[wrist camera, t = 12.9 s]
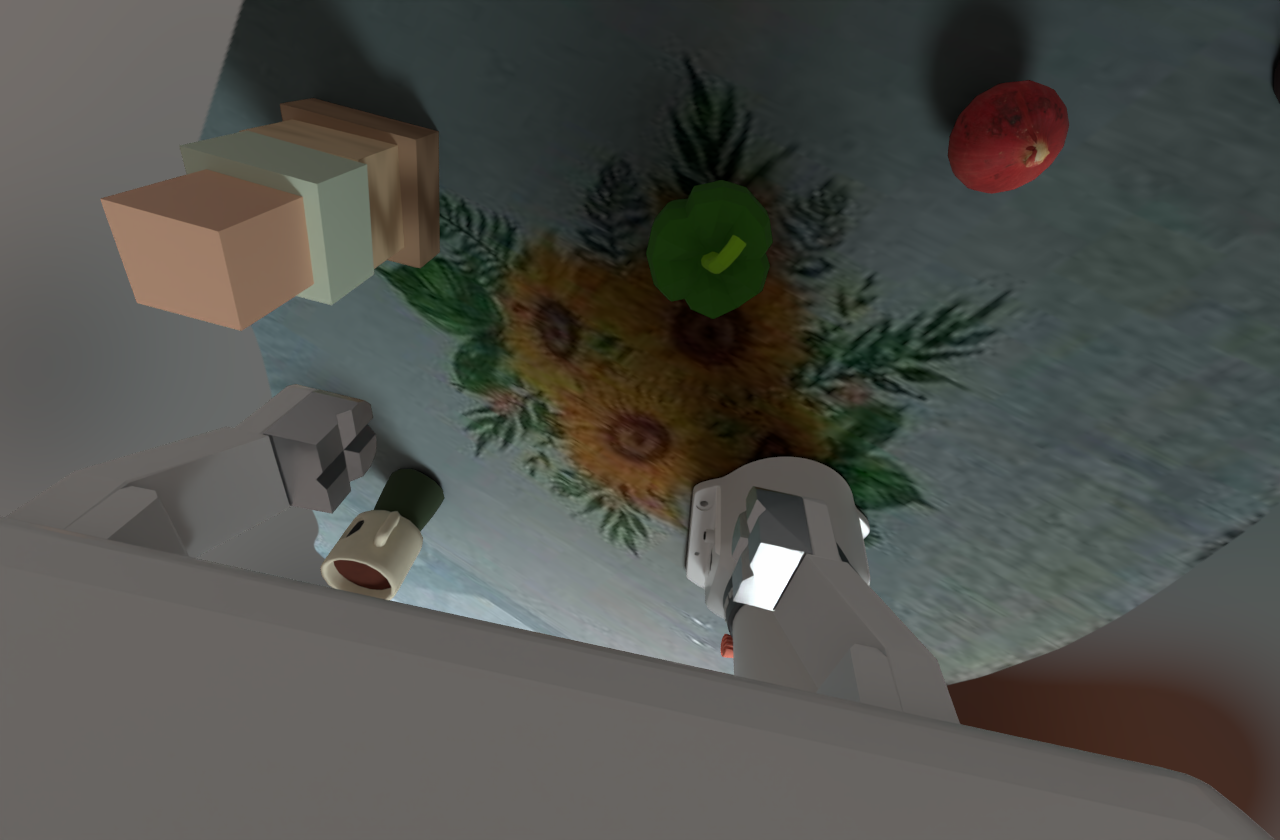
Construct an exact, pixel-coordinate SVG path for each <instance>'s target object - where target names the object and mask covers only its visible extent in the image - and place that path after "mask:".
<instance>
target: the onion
mask: <svg viewBox="0 0 1280 840" xmlns="http://www.w3.org/2000/svg"><path fill="white" fill-rule="evenodd" d="M1068 128H1069V121H1068V114H1067V108H1066V106H1065V104H1064V103H1063V101H1062V100H1061V99H1060V97H1059V96H1058V94H1057V93H1056V92H1055V90H1053V89H1051V88H1050V87H1047V86H1045V85H1042V84H1039V83H1036V82H1034V81H1031V80H1027V81H1018V82H1009V83H1001V84H998V85H996V86H994V87H992V88H991V89H989V90H987V91H985V92H983V93H981V94H980V95H978V96H976V97H975V98H974V99H973V101H972V102H971V103H970V104H969V105H968V106H967V107H966V108H965V109H964V110H963V112H962V113H961V114H960V115H959V116H958V118H957V121H956V123H955V126H954V128H953V130H952V133H951V135H950V139H949V149H948V158H949V161H950V165H951V168H952V171H953V173H954V174H955V176H956V177H957V178H958V179H959V180H960V181H961V182H962V183H963V184H964V185H965V186H966V187H967V188H970V189H973V190H977V191H981V192H985V193H997V192H1003V191H1009V190H1013V189H1016V188H1018V187H1020V186H1022V185H1024V184H1026V183H1028V182H1030V181H1032V180H1034V179H1035V178H1036V177H1038V176H1039V175H1040V174H1041V173H1042V172H1043V171H1044V170H1045V169H1046V168H1048V167H1049V166H1050V165H1051V164H1052V162H1053V161H1054V159H1055V158H1056V157H1057V155H1058V154H1059V152H1060V151H1061V149H1062V148H1063V146H1064V143H1065V139H1066V135H1067V132H1068Z"/></svg>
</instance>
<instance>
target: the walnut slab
mask: <svg viewBox="0 0 1280 840" xmlns="http://www.w3.org/2000/svg"><path fill="white" fill-rule="evenodd" d="M280 108H281V114H282V120H283V121H288V120H292V119H293V120H297V121H301V122H305V123H309V124H314V125H318V126H322V127H326V128H330V129H334V130H338V131H342V132H346V133H350V134H354V135H358V136H362V137H366V138H370V139H375V140H379V141H383V142H387V143H391V144H395V145H398V157H399V172H400V188H401V203H402V219H403V234H404V248H402V249H401V250H400V251H398V252H397V253H395V254H394V255H393V256H391V257H390V258H389V259H387V260H389V261H393V262H397V263H401V264H405V265H409V266H413V267H417V268H421V267H422V266H424V265H425V264H426V263H427V262H428V261H430V260H431V259H432V258H433V257H435V256H436V255H437V254H438V253H439V252H440V241H439V131H435V130H431V129H427V128H424V127H420V126H416V125H412V124H409V123H405V122H401V121H397V120H394V119H390V118H386V117H382V116H379V115H375V114H371V113H367V112H364V111H360V110H356V109H352V108H349V107H345V106H341V105H337V104H334V103H330V102H326V101H322V100H318V99H315V98H310V99H304V100H298V101H292V102H286V103H281V104H280Z"/></svg>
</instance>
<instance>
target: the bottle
mask: <svg viewBox="0 0 1280 840" xmlns="http://www.w3.org/2000/svg"><path fill="white" fill-rule="evenodd" d="M1274 93H1275V95H1276V97H1277V99H1278V101H1279V103H1280V59H1279V62H1278V64H1277V67H1276V70H1275V72H1274Z"/></svg>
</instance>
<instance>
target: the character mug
mask: <svg viewBox="0 0 1280 840" xmlns="http://www.w3.org/2000/svg"><path fill="white" fill-rule="evenodd" d="M443 500H444V494H443V490H442V489H441V488H440V487H439V486H438V484H437V483H436V482H435V481H433V480H432V479H430V478H429V477H427V476H426V475H424V474H422V473H420V472H418V471H416V470H414V469H399V470H397V471H395V472H393V473H392V474H391V476H390V478H389V480H388V481H387V483H386V485H385V487H384V489H383V491H382V493H381V495H380V497H379V499H378V501H377V504H376V506H375V508H374V510H371V511H366V512H363V513H361V514H359V515H358V516H357V517H356V518H355V519H354V520H353V521H352V523H351V524H350V525H349V527H348V528H347V529H346V531H345V532H344V533H343V535H342V536H341V538H340V539H339V541H338V542H337V544H336V545H335V546H334V548H333V549H332V550H331V552H330V553H329V555H328V556H327V557H326V559H325V561H324V562H323V563H322V565H321V569H320V570H321V574H322V577H323V578H324V579H325V581H326V582H327V584H328V585H330V586H331V587H332V588H335V589H339V590H344V591H349V592H353V593H358V594H362V595H367V596H372V597H376V598H381V599H385V600H391V599H392V598H393V597H394V596H395V595H396V593H397V591H398V590H399V588H400V586H401V584H402V582H403V581H404V579H405V577H406V575H407V573H408V572H409V570H410V568H411V566H412V564H413V563H414V561H415V559H416V557H417V555H418V554H419V552H420V550H421V547H422V542H423V537H422V535H421V533H420V531H421V530H422V529H423V528H424V526H425V525H426V524H427V523H428V522H429V520H430V519H431V518H432V517H433V515H434V514H435V512H436V511H437V510H438V508H439V507H440V505H441V504H442V502H443Z"/></svg>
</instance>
